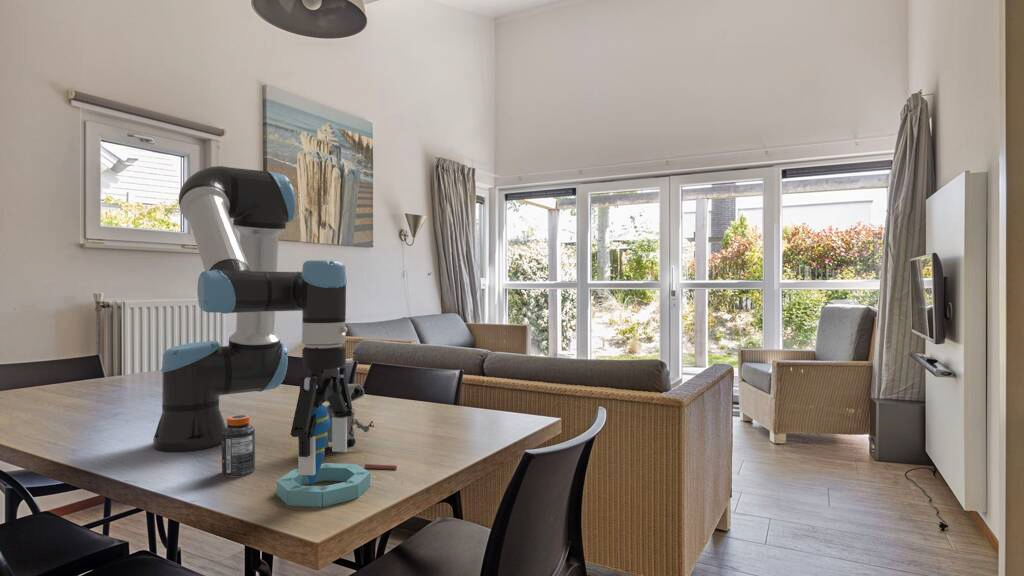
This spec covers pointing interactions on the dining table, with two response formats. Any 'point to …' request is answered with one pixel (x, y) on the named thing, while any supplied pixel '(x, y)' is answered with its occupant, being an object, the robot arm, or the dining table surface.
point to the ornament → (320, 437)
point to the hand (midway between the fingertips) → (324, 462)
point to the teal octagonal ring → (318, 496)
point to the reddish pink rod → (380, 466)
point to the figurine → (348, 417)
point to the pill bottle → (238, 447)
